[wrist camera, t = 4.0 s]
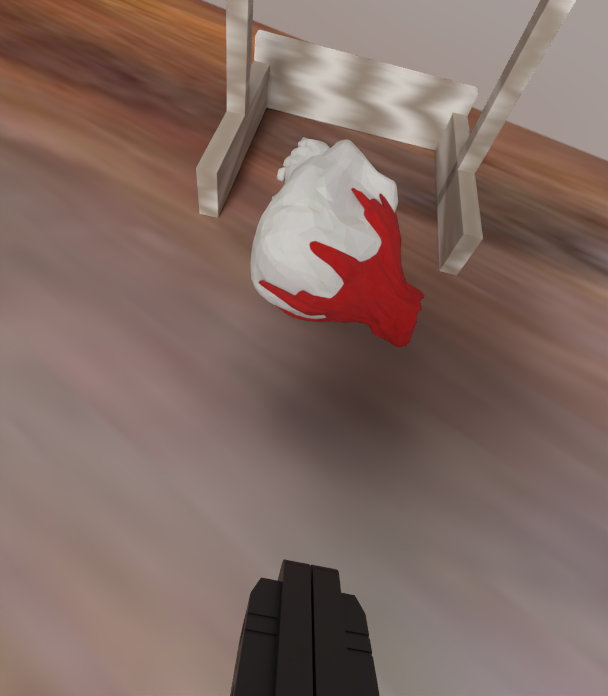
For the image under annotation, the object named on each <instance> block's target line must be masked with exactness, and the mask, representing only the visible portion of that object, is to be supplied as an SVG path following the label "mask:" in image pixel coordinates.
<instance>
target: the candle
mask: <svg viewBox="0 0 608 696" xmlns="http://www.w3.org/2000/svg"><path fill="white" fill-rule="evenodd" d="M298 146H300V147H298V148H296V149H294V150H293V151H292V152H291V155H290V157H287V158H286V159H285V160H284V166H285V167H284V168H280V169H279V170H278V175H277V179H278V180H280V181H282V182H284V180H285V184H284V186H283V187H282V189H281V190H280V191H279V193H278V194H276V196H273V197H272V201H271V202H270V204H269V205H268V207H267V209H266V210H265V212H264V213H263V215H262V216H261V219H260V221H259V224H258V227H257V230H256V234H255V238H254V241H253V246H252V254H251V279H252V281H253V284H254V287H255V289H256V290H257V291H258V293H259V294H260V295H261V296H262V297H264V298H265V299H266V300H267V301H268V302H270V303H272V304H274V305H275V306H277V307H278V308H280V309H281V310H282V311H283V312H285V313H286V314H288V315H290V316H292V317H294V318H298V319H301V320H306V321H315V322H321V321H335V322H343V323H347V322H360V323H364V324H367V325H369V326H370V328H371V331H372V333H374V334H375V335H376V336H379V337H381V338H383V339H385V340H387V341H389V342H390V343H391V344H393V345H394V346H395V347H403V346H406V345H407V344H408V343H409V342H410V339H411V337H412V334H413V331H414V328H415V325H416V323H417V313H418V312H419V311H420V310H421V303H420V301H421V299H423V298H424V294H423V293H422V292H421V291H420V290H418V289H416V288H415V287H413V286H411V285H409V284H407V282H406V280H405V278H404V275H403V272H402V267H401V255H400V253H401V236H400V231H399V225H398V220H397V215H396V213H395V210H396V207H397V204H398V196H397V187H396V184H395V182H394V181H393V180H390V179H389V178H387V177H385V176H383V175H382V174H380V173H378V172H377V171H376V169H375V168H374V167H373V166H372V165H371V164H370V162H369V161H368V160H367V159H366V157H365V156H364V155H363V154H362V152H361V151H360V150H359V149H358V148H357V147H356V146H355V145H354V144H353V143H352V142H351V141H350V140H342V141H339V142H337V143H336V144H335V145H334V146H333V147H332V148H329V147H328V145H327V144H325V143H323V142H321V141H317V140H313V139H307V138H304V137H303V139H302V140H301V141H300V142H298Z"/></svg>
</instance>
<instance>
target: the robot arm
mask: <svg viewBox="0 0 608 696" xmlns="http://www.w3.org/2000/svg"><path fill="white" fill-rule="evenodd" d="M230 696H379V690H378V684H377V678H376V673H375V667H374V661H373V657H372V649H371V644H370V639H369V632H368V626H367V620H366V615H365V613H364V611H363V609H362V607H361V605H360V604H359V602H358V600H357V598H356V597H355V595H350V594H345V593H341V588H340V579H339V572H338V570H336V569H331V568H326V567H321V566H316V565H311V566H310V565H309V564H305V563H300V562H295V561H289V560H283V562H282V565H281V569H280V573H279V577H278V581H276V580H271V579H266V578H261V579H260V580H259V581H258V583H257V584H256V586H255V587H254V589H253V590H252V591H251V593H250V598H249V602H248V606H247V610H246V615H245V619H244V623H243V627H242V632H241V636H240V641H239V647H238V652H237V658H236V664H235V670H234V676H233V682H232V687H231V693H230Z"/></svg>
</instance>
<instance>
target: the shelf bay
mask: <svg viewBox="0 0 608 696" xmlns="http://www.w3.org/2000/svg"><path fill="white" fill-rule="evenodd" d="M575 1H576V0H541V1H540V2H539V4H538V6H537V8H536V10H535V12H534V14H533V16H532V18H531V20H530V21H529V23H528V25H527V27H526V29H525V31H524V33H523V35H522V37H521V39H520V41H519V43H518V44H517V46H516V48H515V50H514V52H513V54H512V56H511V58H510V60H509V61H508V63H507V65H506V67H505V69H504V71H503V73H502V75H501V77H500V79H499V81H498V83H497V84H496V86H495V88H494V90H493V92H492V94H491V96H490V98H489V100H488V101H487V104H486V105H485V107H484V109H483V111H482V113H481V115H480V117H479V119H478V121H477V122H476V124H475V126H474V128H473V130H472V132H471V134H470V132H469V124H468V117H467V116H468V114H469V112H470V110H471V108H472V106H473V104H474V102H475V100H476V98H477V96H478V91H477V87H474V86H471V85H466V84H463V83H459V82H455V81H451V80H448V79H444V78H440V77H436V76H432V75H429V74H425V73H421V72H417V71H413V70H410V69H406V68H402V67H398V66H395V65H391V64H387V63H383V62H379V61H376V60H372V59H368V58H364V57H361V56H357V55H353V54H349V53H345V52H341V51H337V50H334V49H330V48H326V47H322V46H319V45H315V44H311V43H308V42H304V41H300V40H296V39H292V38H289V37H285V36H281V35H277V34H273V33H270V32H266V31H262V30H259V31H258V32H257V34H256V36H255V55H254V62H253V64H252V66H251V45H252V19H253V0H226V33H227V112H226V114H225V116H224V117H223V119H222V121H221V123H220V125H219V127H218V129H217V130H216V132H215V134H214V136H213V138H212V140H211V142H210V143H209V145H208V147H207V149H206V151H205V153H204V154H203V156H202V158H201V160H200V162H199V164H198V166H197V167H196V174H197V186H198V199H199V211H200V214H204V215H208V216H212V217H216V218H218V217H219V215H220V213H221V210H222V208H223V206H224V203H225V201H226V199H227V197H228V194H229V192H230V190H231V187H232V185H233V183H234V180H235V178H236V176H237V174H238V171H239V169H240V167H241V164H242V162H243V160H244V158H245V155H246V153H247V151H248V148H249V146H250V144H251V141H252V139H253V137H254V135H255V132H256V130H257V128H258V125H259V123H260V121H261V119H262V116H263V114H264V112H265V109H266V108H270V109H274V110H278V111H282V112H286V113H290V114H294V115H298V116H302V117H305V118H309V119H313V120H317V121H321V122H325V123H329V124H333V125H337V126H341V127H345V128H349V129H353V130H356V131H360V132H364V133H368V134H372V135H376V136H380V137H384V138H388V139H392V140H396V141H400V142H404V143H407V144H411V145H415V146H419V147H423V148H427V149H431V150H435V161H436V190H437V218H438V247H439V271H441V272H445V273H449V274H453V275H457V274H458V273H459V272H460V270H461V269H462V267H463V266H464V265H465V263H466V262H467V260H468V259H469V258H470V256H471V255H472V253H473V252H474V251H475V249H476V248H477V246H478V245H479V244H480V242H481V241H482V239H483V235H482V227H481V219H480V211H479V203H478V196H477V188H476V180H475V172H476V171H477V169H478V167H479V166H480V164H481V162H482V160H483V159H484V157H485V155H486V154H487V152H488V150H489V148H490V147H491V145H492V143H493V142H494V140H495V138H496V136H497V135H498V133H499V131H500V130H501V128H502V126H503V124H504V123H505V121H506V119H507V118H508V116H509V114H510V113H511V111H512V109H513V107H514V106H515V104H516V102H517V101H518V99H519V97H520V95H521V94H522V92H523V90H524V89H525V87H526V85H527V83H528V82H529V80H530V78H531V77H532V75H533V73H534V72H535V70H536V68H537V66H538V65H539V63H540V61H541V60H542V58H543V56H544V54H545V53H546V51H547V49H548V48H549V46H550V44H551V42H552V41H553V39H554V37H555V36H556V34H557V32H558V30H559V29H560V27H561V25H562V23H563V22H564V20H565V18H566V17H567V15H568V13H569V12H570V10H571V8H572V6H573V5H574V3H575Z"/></svg>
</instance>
